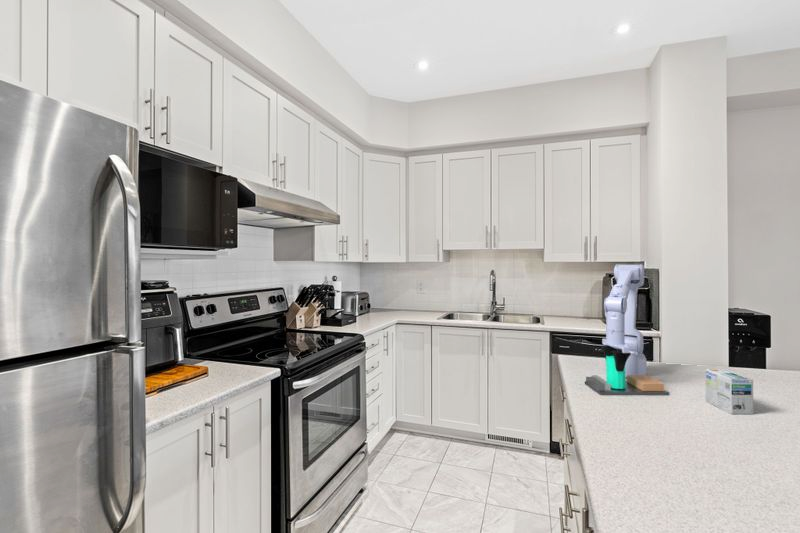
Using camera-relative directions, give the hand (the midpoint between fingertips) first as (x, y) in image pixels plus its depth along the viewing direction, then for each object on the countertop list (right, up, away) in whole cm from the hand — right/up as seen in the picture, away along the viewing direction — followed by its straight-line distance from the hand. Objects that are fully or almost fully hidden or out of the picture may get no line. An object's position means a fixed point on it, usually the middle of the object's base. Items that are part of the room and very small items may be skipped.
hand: (615, 368), depth 140 cm
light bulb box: (+26, -8, -17) cm, 32 cm away
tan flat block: (+11, -6, 0) cm, 12 cm away
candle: (0, -6, -1) cm, 6 cm away
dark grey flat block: (+4, -7, 0) cm, 8 cm away
